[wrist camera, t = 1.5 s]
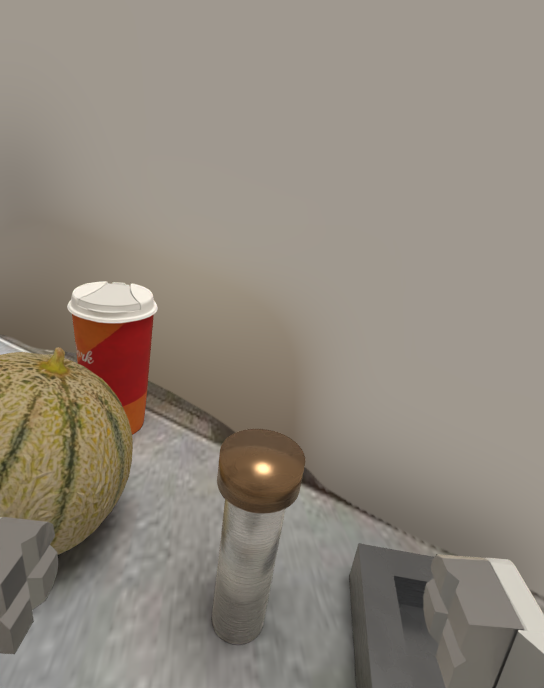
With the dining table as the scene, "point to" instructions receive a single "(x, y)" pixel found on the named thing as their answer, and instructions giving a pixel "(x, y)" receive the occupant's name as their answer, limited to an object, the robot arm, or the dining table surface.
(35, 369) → the cantaloupe
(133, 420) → the coffee cup
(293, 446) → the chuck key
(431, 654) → the block
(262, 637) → the dining table surface
